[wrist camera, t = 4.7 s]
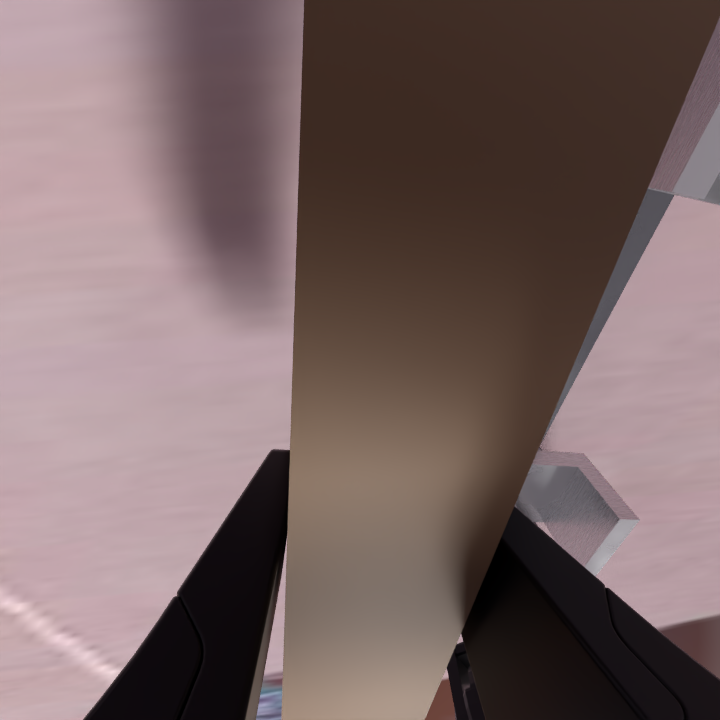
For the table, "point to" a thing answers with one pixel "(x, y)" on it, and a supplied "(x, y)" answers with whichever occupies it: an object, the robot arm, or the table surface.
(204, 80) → the table surface
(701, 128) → the bracket stand
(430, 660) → the rail
